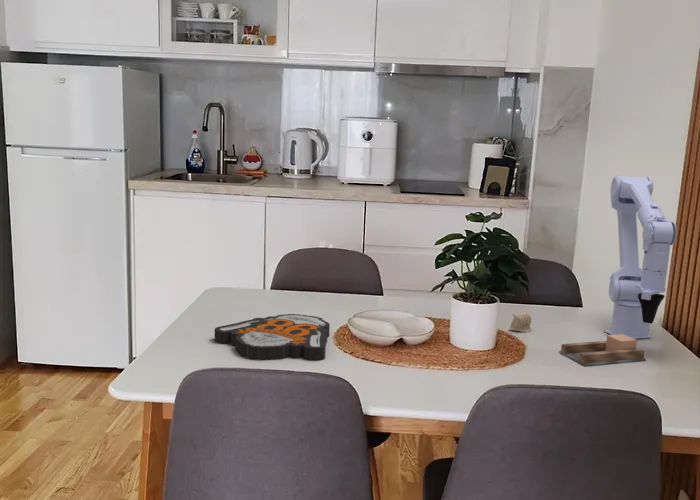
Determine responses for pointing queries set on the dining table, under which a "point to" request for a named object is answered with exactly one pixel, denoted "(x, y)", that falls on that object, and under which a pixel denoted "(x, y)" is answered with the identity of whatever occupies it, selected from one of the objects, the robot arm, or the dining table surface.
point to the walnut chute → (599, 354)
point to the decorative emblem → (277, 337)
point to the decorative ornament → (521, 322)
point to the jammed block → (620, 342)
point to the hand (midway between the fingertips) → (647, 322)
